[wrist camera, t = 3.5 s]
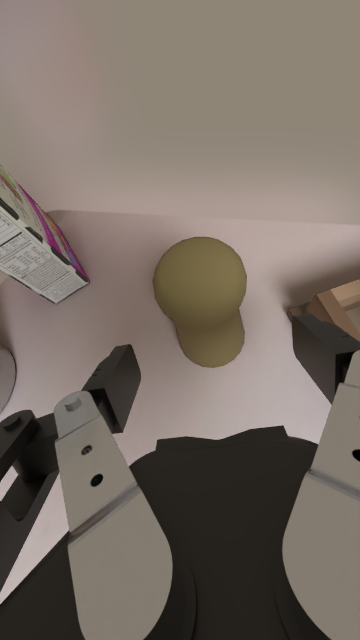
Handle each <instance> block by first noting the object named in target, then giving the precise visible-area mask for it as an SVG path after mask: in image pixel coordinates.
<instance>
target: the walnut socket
mask: <svg viewBox="0 0 360 640" xmlns="http://www.w3.org/2000/svg"><path fill="white" fill-rule="evenodd" d="M309 313H311V314H312V315H314V316H315V317H316V318H318V319H319V320H320V321H321V322H323V321H326V322H329V323H332V324H335V325H337V326H338V327H340V328H341V329H343V330H344V332H347V333H348V334H350V336H352V337H354V338H355V339H356V340H358V341H359V342H360V279H359V280H356V281H353V282H350V283H347V284H344V285H341V286H339V287H336V288H333V289H330V290H327V291H324V292H321V293H319V294H316V295H315V297H314V298H313V300H312V301H311V302H309V303H306V304H304V305H301V306H298V307H295V308H292V309H289V311H288V313H287V315H288V317H289V319H290V320H291V322H292V317H293V316H297V315H303V314H309Z"/></svg>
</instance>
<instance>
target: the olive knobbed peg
mask: <svg viewBox="0 0 360 640" xmlns="http://www.w3.org/2000/svg"><path fill="white" fill-rule="evenodd" d="M246 282H247V275H246V272H245V269H244V266H243V263H242V260H241V258H240V257H239V255H238V254H237V253H236V252H235V251H234V249H233V248H231V247H230V246H228V245H227V244H225V243H223V242H222V241H220V240H218V239H214V238H209V237H193V238H190V239H186V240H182V241H181V242H179V243H177V244H175V245H174V246H172V247H171V248H170V249H169V250H168V251H167V252H166V253H165V254H164V255H163V256H162V258H161V260H160V261H159V263H158V265H157V267H156V269H155V273H154V278H153V286H154V293H155V299H156V301H157V302H158V304H159V306H160V308H161V310H162V311H163V312H164V314H165V315H166V316H168V317H169V318H170V319H171V320H172V321H173V322H175V324H176V329H177V333H178V338H179V342H180V347H181V349H182V350H183V352H184V354H185V356H186V357H187V358H189V359H190V360H191V361H192V362H193V363H195V364H198V365H200V366H202V367H211V368H214V367H219V366H224V365H226V364H227V363H229V362H231V361H232V360H234V359H235V357H236V356H237V355H238V354H239V353H240V351H241V349H242V346H243V344H244V334H245V332H244V328H243V324H242V319H241V315H240V311H239V307H240V305H241V303H242V301H243V298H244V296H245V293H246Z"/></svg>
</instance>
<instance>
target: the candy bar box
mask: <svg viewBox="0 0 360 640" xmlns="http://www.w3.org/2000/svg"><path fill="white" fill-rule="evenodd" d="M0 271H2V272H4V273H6V274H7V275H9V276H10V277H12V278H14V279H15V280H17V281H18V282H20V283H22V284H23V285H25V286H26V287H28V288H30V289H31V290H33V291H34V292H36V293H38V294H39V295H41V296H43V297H44V298H46V299H47V300H49V301H51V302H52V303H54V304H58V303H60V302H61V301H63V300H65V299H66V298H67V297H69V296H70V295H72V294H73V293H74V292H76V291H78V290H79V289H81V288H82V287H84V286H85V285H87V284H88V283H90V281H89V280H88V278H87V276H86V274H85V273H84V271H83V269H82V267H81V265H80V264H79V262H78V260H77V259H76V257H75V255H74V253H73V252H72V250H71V248H70V246H69V244H68V243H67V241H66V239H65V237H64V236H63V234H62V232H61V230H60V228H59V227H58V226H57V225H56V224H55V223H54V222H53V221H52V220H51V219H50V217H49V216H48V215H47V214H46V213H45V212H44V211H43V210H42V209H41V208H40V207H39V206H38V205H37V204H36V203H35V201H34V200H33V199H32V198H31V197H30V196H29V195H28V194H27V193H26V192H25V191H24V190H23V189H22V187H21V186H20V185H19V184H18V183H17V182H16V181H15V180H14V179H13V178H12V177H11V176H10V174H9V173H8V172H7V171H6V170H5V169H4V168H3V167H2V166H1V165H0Z"/></svg>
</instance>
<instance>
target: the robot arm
mask: <svg viewBox="0 0 360 640" xmlns="http://www.w3.org/2000/svg"><path fill="white" fill-rule="evenodd" d="M292 336H293V349H294V353H295V356H296V358H297V359H298V361H299V362H300V363H301V365H302V366H303V367H304V369H305V370H306V371H307V373H308V374H309V375H310V377H311V378H312V379H313V380H314V382H315V383H316V384H317V386H318V387H319V388H320V390H321V391H322V392H323V394H324V395H325V396H326V398H327V399H328V400H329V402H330V403H331V404H332V407H331V410H330V413H329V415H328V418H327V421H326V424H325V427H324V430H323V433H322V436H321V439H320V442H319V445H318V444H316V443H313V442H311V441H308V440H304V439H301V438H296V437H290V436H288V435H287V433H286V431H285V428H284V426H275V427H266V428H257V429H250V430H247V431H244V432H241V433H238V434H235V435H233V436H230V437H227V438H224V439H221V440H213V439H204V438H196V437H187V436H186V437H177V438H168V439H159V440H157V445H156V450H155V451H153V452H150V453H148V454H146V455H144V456H143V457H141V458H139V459H138V460H136V461H135V462H134V463H132V464H131V465H130V466H129V467H128V465H127V463H126V461H125V459H124V457H123V455H122V453H121V451H120V449H119V447H118V445H117V443H116V441H115V439H114V438H113V436H112V434H114V433H123V430H124V427H125V424H126V422H127V419H128V416H129V413H130V410H131V407H132V404H133V401H134V398H135V396H136V393H137V390H138V387H139V384H140V381H141V372H140V368H139V365H138V362H137V359H136V356H135V353H134V350H133V348H132V346H131V345H130V344H128V345H122V346H116V347H115V348H114V349H113V351H112V353H111V354H110V356H109V357H107V358H106V359H104V360H103V361H102V362H101V363H100V364H99V365H98V366H97V368H96V369H95V371H94V372H93V374H92V376H91V377H90V378H89V380H88V381H87V383H86V384H85V386H84V387H83V388H82V390H81V391H79V392H75V393H73V394H70V395H69V396H67V397H65V398H64V399H62V400H61V401H60V402H59V403H58V404H57V405H56V407H55V409H54V413H51V414H48V415H46V416H43V417H40V418H37V419H36V417H35V415H34V414H33V412H32V411H31V410H23V411H19V412H17V413H14V414H12V415H10V416H9V417H7V418H6V419H4V420H3V421H1V422H0V482H1V480H2V478H3V477H4V476H5V474H6V473H7V471H8V470H9V468H10V467H11V466H13V467H14V469H15V470H16V472H17V473H18V476H17V478H16V479H15V481H14V482H13V484H12V485H11V487H10V488H9V490H8V492H7V493H6V495H5V496H4V498H3V499H2V501H0V592H1V590H2V588H3V586H4V584H5V582H6V579H7V577H8V575H9V573H10V571H11V569H12V567H13V565H14V563H15V561H16V559H17V557H18V555H19V553H20V551H21V549H22V547H23V545H24V543H25V541H26V539H27V537H28V535H29V533H30V531H31V529H32V527H33V525H34V523H35V521H36V519H37V517H38V514H39V512H40V510H41V508H42V506H43V504H44V502H45V500H46V498H47V496H48V494H49V492H50V490H51V488H52V486H53V484H54V482H55V480H56V478H57V476H58V474H59V472H60V478H61V483H62V489H63V495H64V501H65V507H66V513H67V519H68V524H69V531H68V532H67V533H66V534H65V535H64V536H63V537H62V539H61V540H60V541H59V542H58V543H57V544H56V545H55V546H54V547H53V548H52V549H51V550H50V551H49V553H48V554H47V555H46V556H45V557H44V558H43V559H42V560H41V561H40V562H39V563H38V564H37V566H36V567H35V568H34V569H33V570H32V571H31V572H30V573H29V574H28V575H27V576H26V577H25V578H24V580H23V581H22V582H21V583H20V584H19V585H18V586H17V587H16V588H15V589H14V590H13V591H12V592H11V594H10V595H9V596H8V597H7V598H6V599H5V600H4V601H3V602H2V603H1V604H0V640H360V342H359V341H358V340H356V339H355V338H354V337H352V336H350V334H348V333H347V332H344V330H343V329H341V328H340V327H338V326H337V325H335V324H332V323H329V322H326V321H323V322H321V321H320V320H319V319H318V318H316V317H315V316H314V315H312V314H311V313H309V314H303V315H297V316H293V317H292ZM15 373H16V372H15V363H14V360H13V357H12V355H11V354H10V352H9V351H8V350H7V349H5V348H4V347H3V346H0V412H1V411H2V409H3V408H4V406H5V405H6V403H7V401H8V399H9V397H10V395H11V393H12V389H13V386H14V382H15Z"/></svg>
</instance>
